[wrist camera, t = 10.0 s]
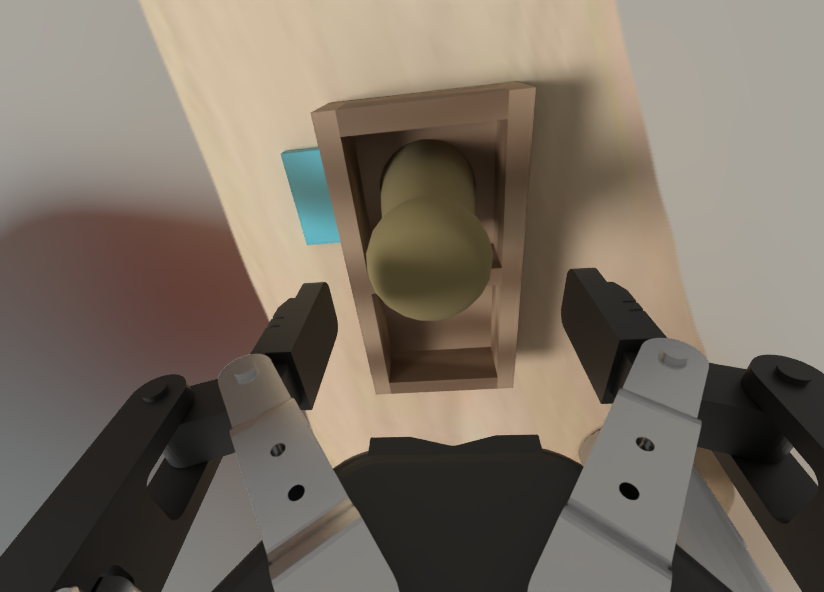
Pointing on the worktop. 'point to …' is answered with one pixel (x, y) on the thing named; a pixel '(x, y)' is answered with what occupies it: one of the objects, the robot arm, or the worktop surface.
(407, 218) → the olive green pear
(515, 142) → the wooden divided tray
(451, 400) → the worktop surface
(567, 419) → the worktop surface
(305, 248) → the worktop surface
